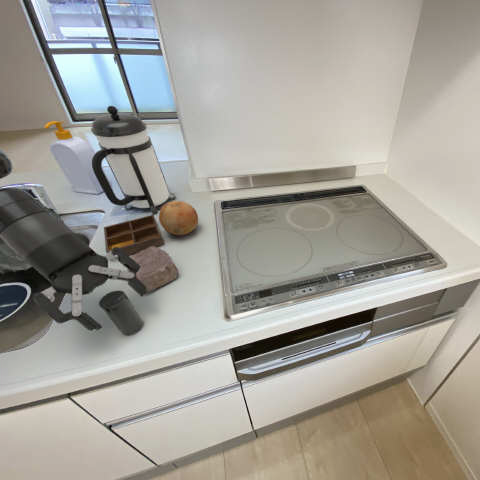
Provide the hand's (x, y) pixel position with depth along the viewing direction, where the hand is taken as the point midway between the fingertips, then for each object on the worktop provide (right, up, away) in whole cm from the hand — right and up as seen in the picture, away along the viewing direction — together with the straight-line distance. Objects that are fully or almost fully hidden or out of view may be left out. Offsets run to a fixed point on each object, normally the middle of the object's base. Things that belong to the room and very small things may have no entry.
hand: (123, 310), depth 48 cm
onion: (-4, +16, +29) cm, 33 cm away
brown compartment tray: (-15, +13, +24) cm, 31 cm away
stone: (-4, +5, +15) cm, 16 cm away
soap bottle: (-44, +31, +44) cm, 70 cm away
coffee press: (-20, +25, +38) cm, 50 cm away
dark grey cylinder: (-1, -4, +4) cm, 6 cm away
